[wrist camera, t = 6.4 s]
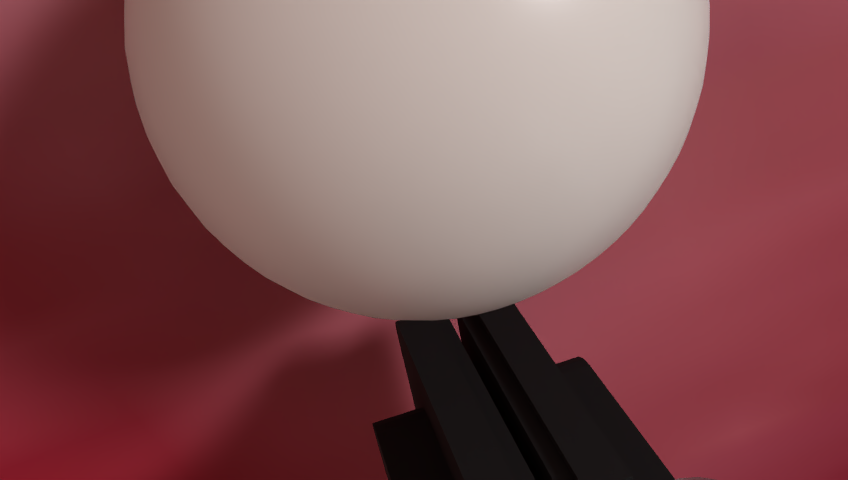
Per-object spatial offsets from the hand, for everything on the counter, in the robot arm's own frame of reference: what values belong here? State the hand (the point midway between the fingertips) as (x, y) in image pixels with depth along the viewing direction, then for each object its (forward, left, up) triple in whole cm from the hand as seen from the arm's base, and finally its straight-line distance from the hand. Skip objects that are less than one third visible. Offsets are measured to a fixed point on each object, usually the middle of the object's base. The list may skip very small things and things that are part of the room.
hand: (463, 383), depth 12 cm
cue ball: (+6, 0, +1) cm, 6 cm away
